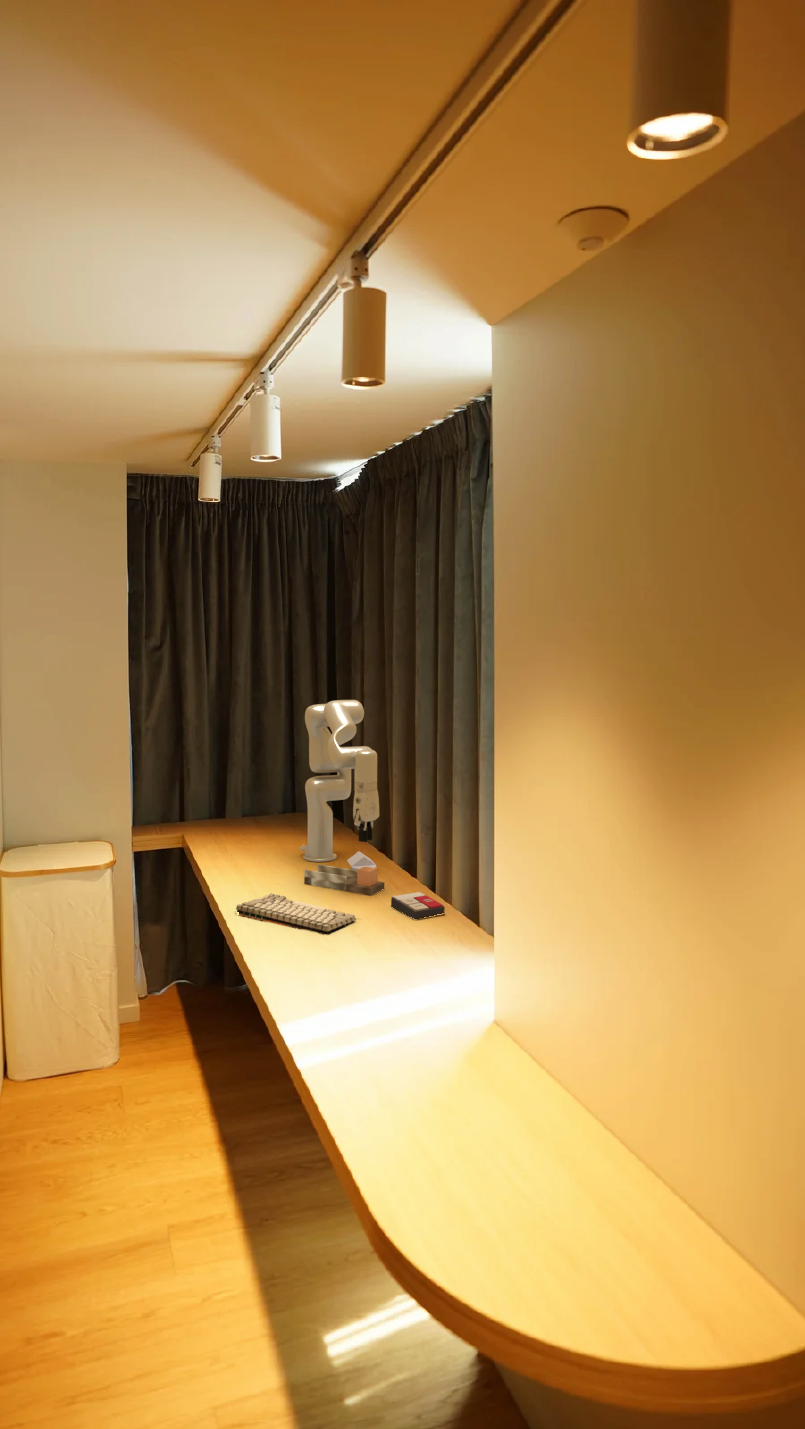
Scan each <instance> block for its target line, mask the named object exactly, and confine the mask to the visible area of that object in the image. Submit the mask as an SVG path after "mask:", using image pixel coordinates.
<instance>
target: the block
mask: <svg viewBox="0 0 805 1429" xmlns="http://www.w3.org/2000/svg"><path fill="white" fill-rule="evenodd" d="M378 872H379V871H378V867H376V868H372V867H366V866H365V867H362V868H360V869H358V870H357V884H359V885H365V886H372V885H374V884H376V883H378V881H379V880H378V878H379V877H378V875H379V874H378Z"/></svg>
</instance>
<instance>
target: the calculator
mask: <svg viewBox="0 0 805 1429" xmlns="http://www.w3.org/2000/svg"><path fill="white" fill-rule="evenodd" d="M390 903H391V904H390V908H391V907H393V908H394V909H393V908H392V909H393V910H395V909H396V910H395V911H397V910H398V912H400V911H401V912H400V913H402V912H403V913H404V914H403V913H402V914H403V915H405V914H406V915H407V916H406V915H405V916H406V917H408V916H409V917H408V918H410V917H412V918H414V919H418V920H420V919H419V918H424V917H429V916H434V915H437V914H442V913H444V914H445V912H446V910H445V908H446V907H445V906H444V905H443V904H442V903H441V902H439V901H438V900H435V899H433V898H432V897H430V896H428V895H426V894H424V893H423V892H421V891H418V892H410V893H406V894H405V893H404V894H399V895H393V896H391V902H390ZM412 918H411V919H412ZM414 919H413V920H414ZM424 919H425V918H424Z"/></svg>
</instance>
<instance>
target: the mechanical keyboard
mask: <svg viewBox="0 0 805 1429" xmlns="http://www.w3.org/2000/svg"><path fill="white" fill-rule="evenodd" d="M235 911H237V912H239V915H238V916H239V917H242V918H247V919H250V920H254V921H259V922H264V923H270V924H274V925H278V926H283V927H287V928H292V929H297V930H305V931H310V932H314V933H317V934H320V935H322V936H323V935H324V936H325V935H327V936H328V935H329V936H330V935H331V934H333V933H334V934H335V933H336V932H338V931H341V930H343V929H344V928H345V929H346V928H347V927H349V925H352V924H354V921H357V920H358V918H356V915H355V914H351V913H346V912H342V911H339V910H338V911H336V910H334V909H330V908H329V909H327V908H326V907H323V906H318V905H314V904H310V903H306V902H301V901H296V900H295V901H293V900H292V899H288V898H287V896H285V895H280V894H274V893H269V894H268V895H267V894H265V895H263V896H262V897H261V896H260V897H258V898H256V899H251V900H249V901H247V902H245V901H244V902H242V903H241V904H240V903H239V904H236V908H235ZM360 920H362V919H361V918H360Z"/></svg>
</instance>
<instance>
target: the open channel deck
mask: <svg viewBox="0 0 805 1429" xmlns="http://www.w3.org/2000/svg"><path fill="white" fill-rule="evenodd" d="M316 870H317V871H316ZM316 870H310V869H304V870H303V876H304V878H303V883H304V884H303V885H308V886H313V887H318V886H320V888H324V887H326V889H330V888H332V889H331V890H336V891H343V892H349V893H354V894H360V895H365V896H370V895H372V896H374V895H376V894H378V893H380V892H382V891H383V890H382V889H384V890H385V882H384V881H380V880H378V883H376V884H374V885H372V886H365V885H359V884H357V871H356V870H351V868H349V869H348V868H344V867H336V866H331V865H324V864H317V869H316ZM381 890H382V891H381ZM379 891H380V892H379ZM377 892H378V893H377Z"/></svg>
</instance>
